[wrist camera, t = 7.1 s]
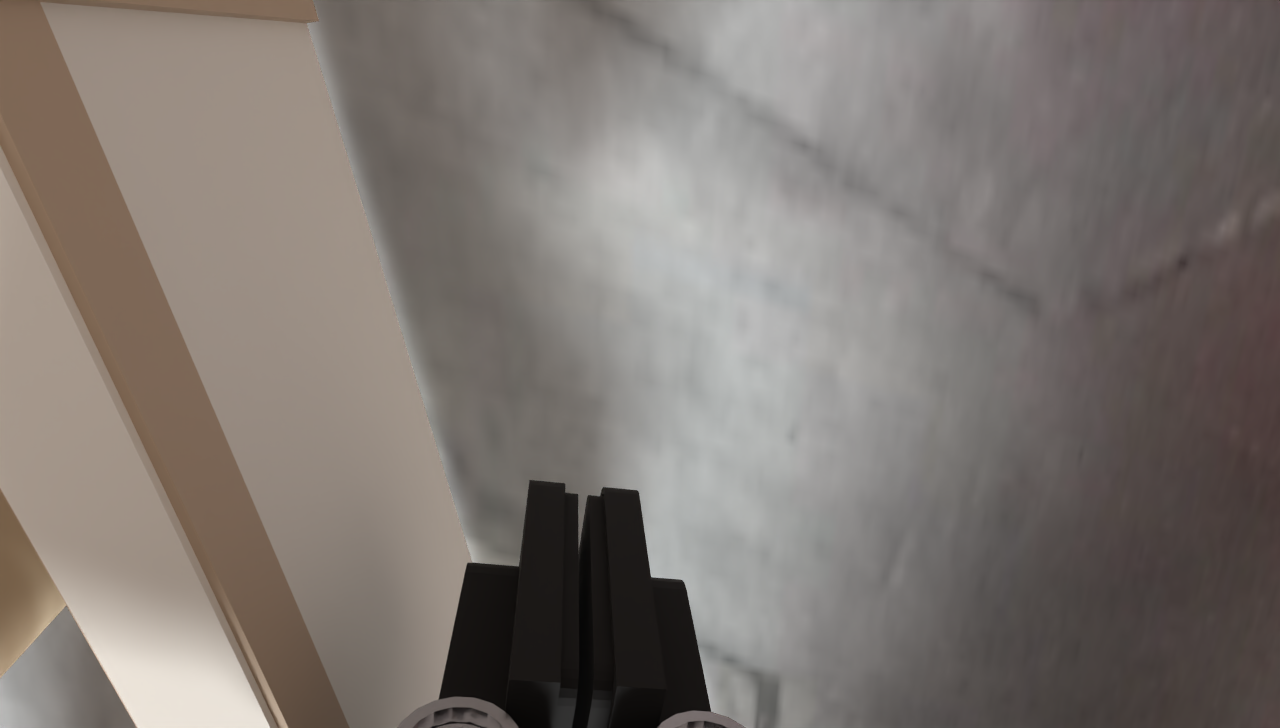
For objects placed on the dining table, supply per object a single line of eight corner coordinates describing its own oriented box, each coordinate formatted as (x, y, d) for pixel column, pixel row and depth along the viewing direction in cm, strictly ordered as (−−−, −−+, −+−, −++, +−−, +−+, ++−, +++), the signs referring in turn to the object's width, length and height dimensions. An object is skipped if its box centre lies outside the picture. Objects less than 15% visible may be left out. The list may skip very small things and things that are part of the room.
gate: (594, 839, 21) (610, 1551, 11) (501, 857, 21) (435, 1586, 11) (334, -89, 13) (-634, -623, 3) (177, -61, 13) (-1432, -485, 3)
